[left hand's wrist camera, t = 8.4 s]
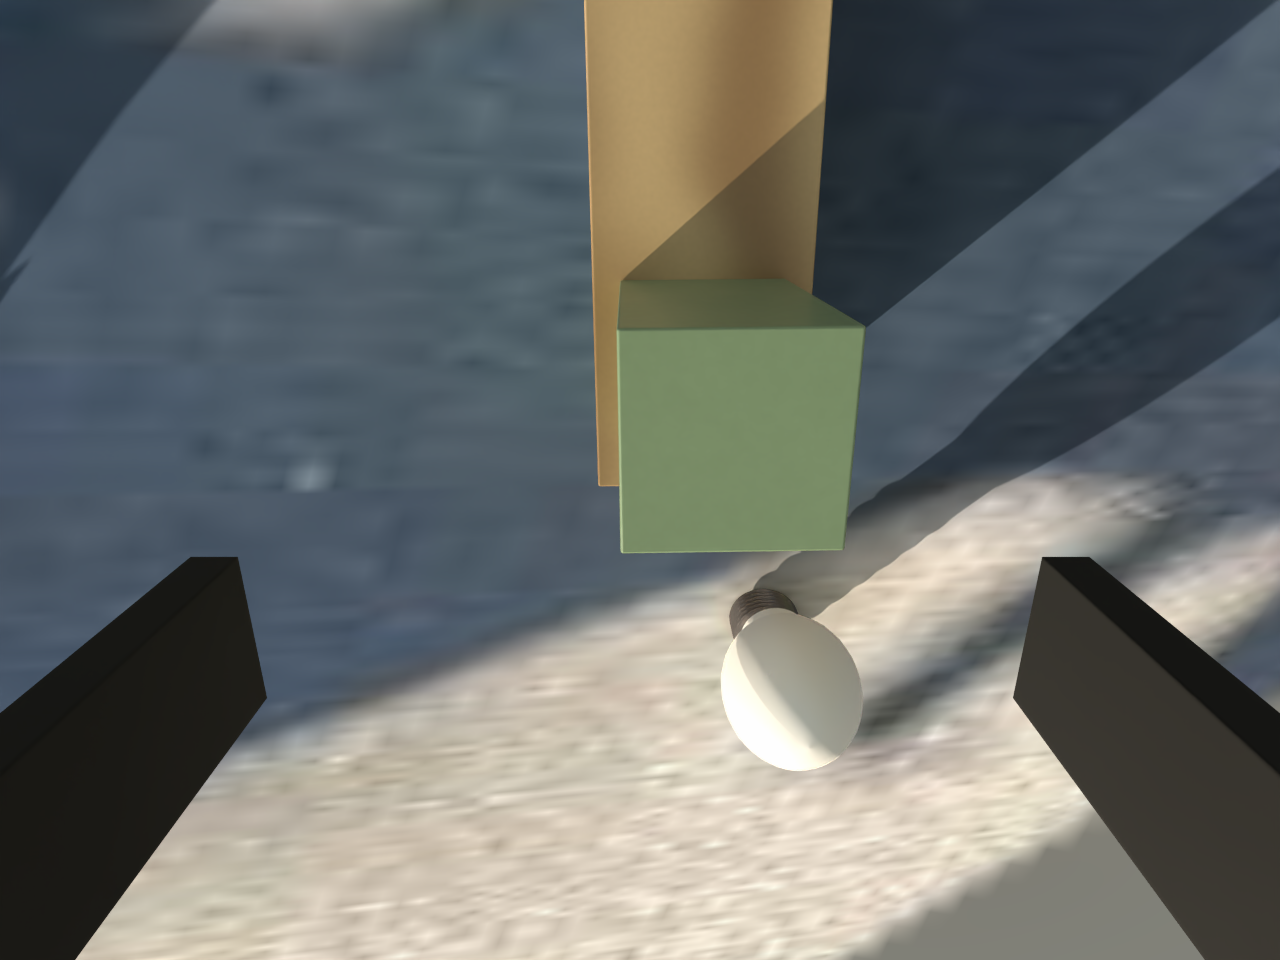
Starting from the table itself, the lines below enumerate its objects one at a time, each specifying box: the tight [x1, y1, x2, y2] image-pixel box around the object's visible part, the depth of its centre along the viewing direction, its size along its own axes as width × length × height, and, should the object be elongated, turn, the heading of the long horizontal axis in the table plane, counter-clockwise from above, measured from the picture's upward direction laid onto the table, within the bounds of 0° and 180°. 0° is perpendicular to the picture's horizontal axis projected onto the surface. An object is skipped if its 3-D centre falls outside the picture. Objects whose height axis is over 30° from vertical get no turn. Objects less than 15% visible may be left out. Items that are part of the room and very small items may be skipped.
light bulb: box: [721, 589, 863, 771], centre depth 39 cm, size 7×7×11 cm
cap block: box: [617, 279, 866, 553], centre depth 24 cm, size 6×6×10 cm
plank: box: [584, 0, 833, 486], centre depth 30 cm, size 8×30×10 cm, turn 0°
